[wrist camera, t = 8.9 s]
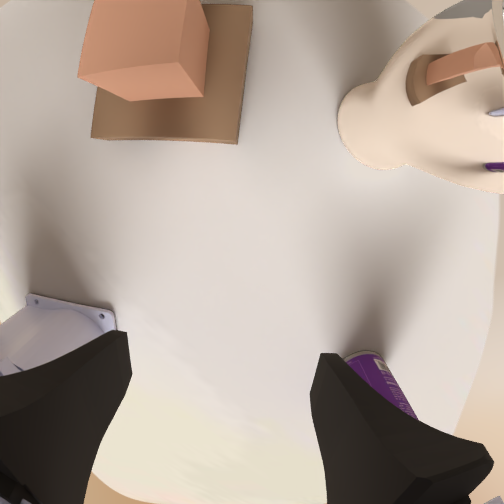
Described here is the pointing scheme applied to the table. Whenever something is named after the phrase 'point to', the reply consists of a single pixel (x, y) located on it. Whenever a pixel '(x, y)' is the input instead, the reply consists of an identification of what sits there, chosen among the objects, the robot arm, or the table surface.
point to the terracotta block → (146, 48)
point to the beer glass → (437, 101)
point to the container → (379, 378)
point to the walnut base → (190, 108)
